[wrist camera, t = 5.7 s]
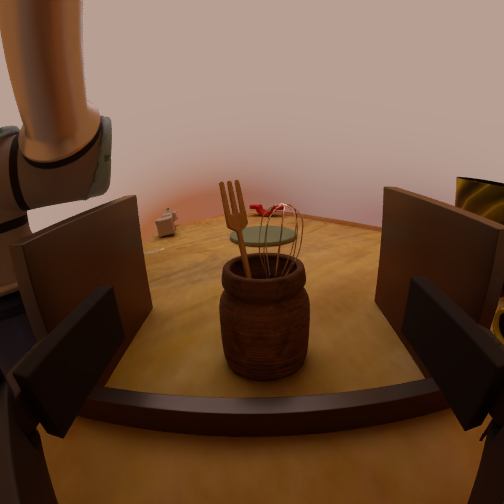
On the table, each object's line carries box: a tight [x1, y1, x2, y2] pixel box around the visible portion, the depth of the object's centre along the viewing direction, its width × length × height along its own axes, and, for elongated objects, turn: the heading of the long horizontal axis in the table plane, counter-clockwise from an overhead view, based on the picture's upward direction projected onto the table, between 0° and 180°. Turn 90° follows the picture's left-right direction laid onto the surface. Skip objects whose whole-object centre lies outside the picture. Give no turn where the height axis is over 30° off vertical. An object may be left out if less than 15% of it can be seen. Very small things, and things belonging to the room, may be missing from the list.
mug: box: [455, 177, 504, 297], centre depth 30 cm, size 10×14×12 cm
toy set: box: [155, 208, 178, 237], centre depth 59 cm, size 12×3×4 cm, turn 10°
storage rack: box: [8, 187, 504, 436], centre depth 19 cm, size 15×24×11 cm, turn 88°
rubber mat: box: [230, 226, 296, 246], centre depth 51 cm, size 11×11×1 cm
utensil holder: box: [219, 180, 310, 380], centre depth 19 cm, size 6×6×12 cm
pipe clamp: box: [250, 205, 284, 216], centre depth 69 cm, size 8×3×2 cm, turn 70°
